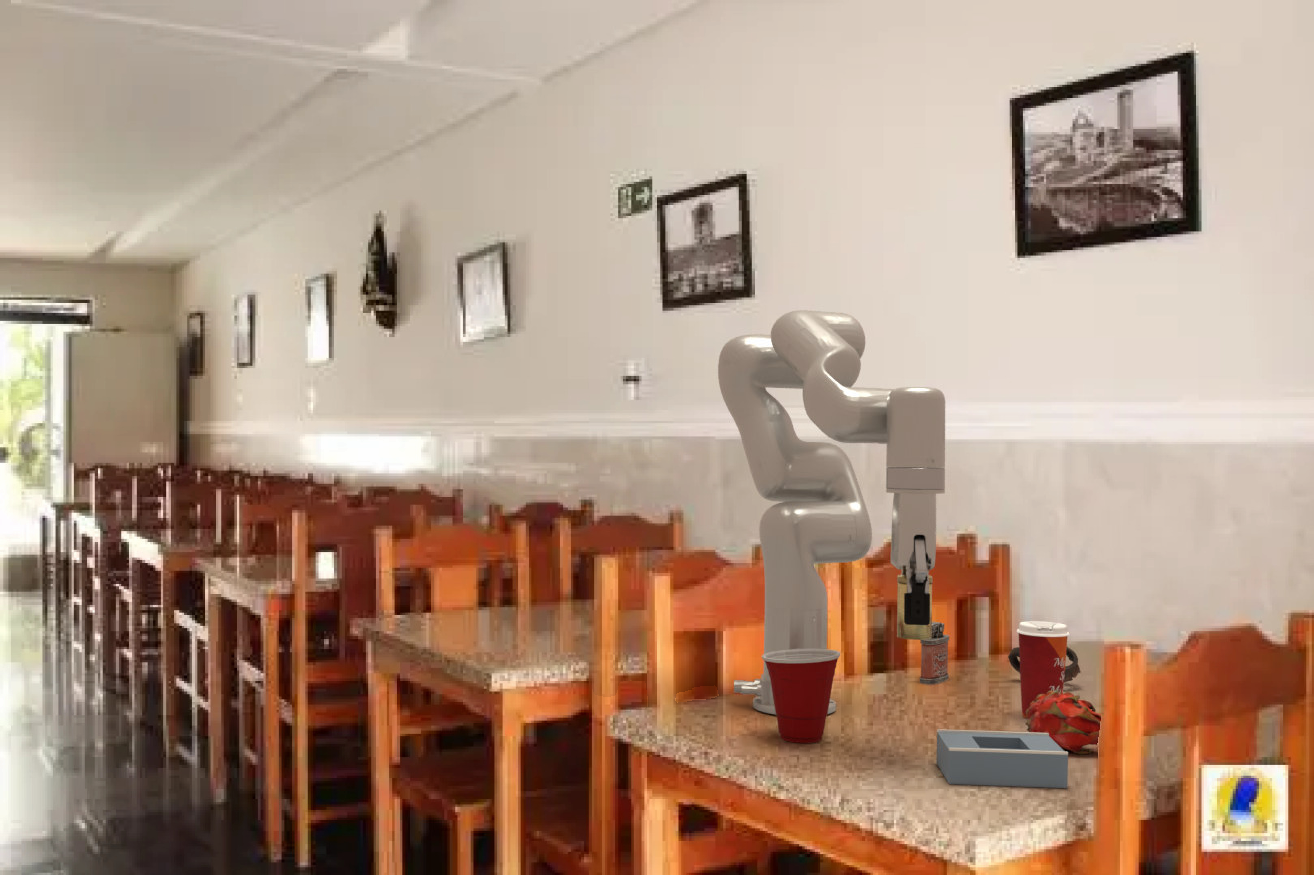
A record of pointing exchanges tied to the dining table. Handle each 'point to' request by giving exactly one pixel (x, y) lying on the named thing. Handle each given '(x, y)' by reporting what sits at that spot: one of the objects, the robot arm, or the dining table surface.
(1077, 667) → the pottery mug
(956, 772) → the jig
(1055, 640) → the paper cup
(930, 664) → the lighter
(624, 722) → the dining table surface
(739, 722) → the dining table surface
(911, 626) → the brass flanged cylinder
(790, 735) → the plastic cup
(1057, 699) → the dragon fruit
